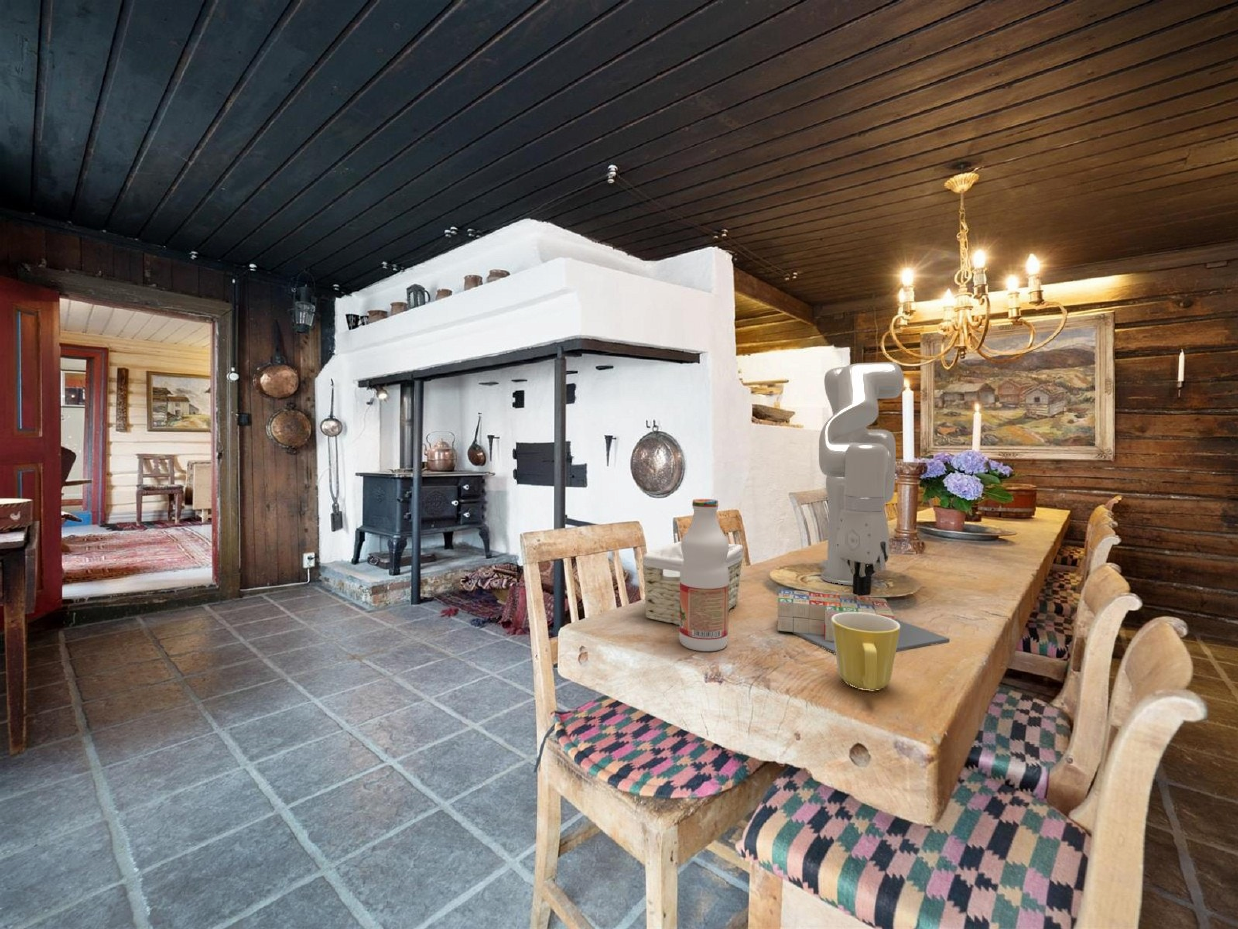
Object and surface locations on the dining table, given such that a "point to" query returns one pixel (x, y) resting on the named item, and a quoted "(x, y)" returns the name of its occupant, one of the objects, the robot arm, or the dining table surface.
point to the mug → (865, 648)
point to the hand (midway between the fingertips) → (861, 594)
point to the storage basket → (678, 580)
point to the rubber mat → (907, 638)
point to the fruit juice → (704, 581)
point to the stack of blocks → (822, 610)
